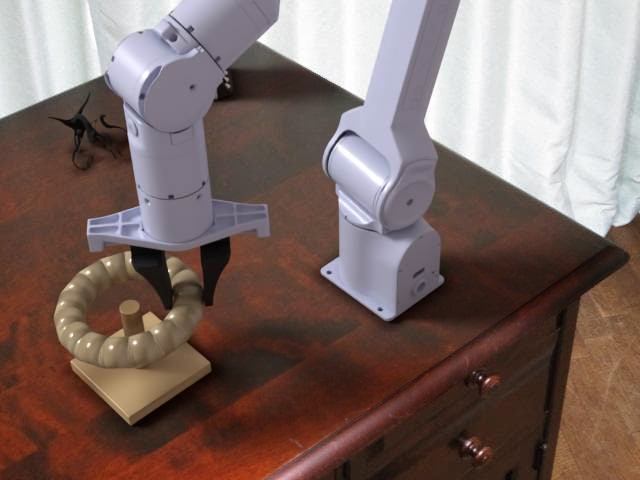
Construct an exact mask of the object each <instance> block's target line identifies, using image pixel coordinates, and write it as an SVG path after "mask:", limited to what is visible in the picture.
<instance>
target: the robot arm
mask: <svg viewBox="0 0 640 480" xmlns="http://www.w3.org/2000/svg"><path fill="white" fill-rule="evenodd" d="M460 3H461V0H391V3H390V7H389V9H388V14H387V18H386V20H385V21H386V22H385V25H384V29H383V33H382V36H381V39H380V43H379V47H378V51H377V55H376V58H375V62H374V66H373V69H372V73H371V77H370V80H369V84H368V88H367V92H366V95H365V99H364V102H363V105H360V106H359V105H358V106H357V107H354V108H351V109H348V110H346V111H344V112H343V113H341V116H340V121H339V124H338V127H337V129H336V131H335V132H334V135H333V136H332V138H331V139H330V140H329V141H328V144H327V145H326V147H325V148H324V149H325V150H324V152H323V155H322V162H321V164H322V170H323V173H324V175H325V176H326V177H327V178H328V179H329V180H331V181H332V182H333V183H335V194H336V196H337V197H338V244H339V245H338V246H339V247H338V249H339V250H338V251H339V252H338V253H339V256H338V257H336V258H335V259H333V260H332V261H330V262H329V263H327V264H326V265H324V266H322V267H321V269H320V274H321V275H322V276H323V277H324V278H326V279H327V280H329V281H330V282H331V283H333V284H334V285H335V286H336V287H337V288H339V289H341V290H342V291H344V293H346V294H348V295H349V296H350V297H352V298H353V299H354V300H356V301H358V302H359V303H360V304H361V305H363V306H364V307H365V308H367V309H368V310H370V311H371V312H372V313H374V314H375V315H376V316H378V317H379V318H381V319H382V320H383V321H386V322H390V321H393V320H394V319H395V318H398V316H400V315H401V314H402V313H404V312H406V311H407V310H408V309H409V308H411V307H412V306H414V305H415V304H416V303H418V302H419V301H421V300H423V298H425V297H426V296H428V295H429V294H430V293H432V292H433V291H434V290H436V289H437V288H438V287H440V286H442V285H443V284H444V282H445V277H444V276H443V275H441V274H440V268H441V253H442V237H441V235H440V234H439V232H438V231H437V230H436V229H435V228H433V226H431V225H430V224H429V222H427V220H426V219H425V218H424V217H423V216H424V215H425V214H426V212H427V211H428V209H429V208H430V207H431V204H432V201H433V199H434V196H435V191H436V179H435V170H436V166H437V163H438V160H439V156H438V155H439V154H438V153H437V150H436V147H435V145H434V142H433V140H432V138H431V135H430V133H429V131H428V129H427V126H426V123H425V119H426V115H427V111H428V109H429V105H430V103H431V98H432V95H433V93H434V89H435V86H436V82H437V79H438V76H439V72H440V69H441V66H442V62H443V59H444V55H445V53H446V50H447V46H448V43H449V40H450V36H451V33H452V30H453V26H454V23H455V19H456V17H457V14H458V10H459V6H460ZM280 5H281V0H181V1H180V3H178V4H177V5H176V6H175V7H174V8H173V9H172V10H171V11H170V12H169V13H168V14H167V15H165V17H163V18H162V19H161V20H159V22H158V23H156V25H154V27H153V28H146V29H142V30H138V31H135V32H132V33H129V34H128V35H126V36H125V37H124V38H123V39H122V40H120V41H119V42H118V44H117V45H116V46H115V48H114V50H113V51H112V54H111V57H110V61H109V65H108V69H107V70H105V71H104V72H103V78H104V81H105V83H106V85H107V87H108V88H109V89H110V90H111V91H112V92H113V93H114V94H115V95H116V96H118V97H120V99H122V101H123V111H124V117H125V123H126V131H127V132H128V133H127V140H128V139H129V141H128V144H129V150H130V157H131V163H132V169H133V176H134V182H135V187H136V193H137V198H138V204H139V205H138V206H135V207H132V208H131V207H130V208H129V209H125V210H122V211H119V212H116V213H112V214H108V215H105V216H101V217H95V218H88V219H87V226H86V238H87V243H88V247H89V252H90V253H99V252H103V251H104V250H105V247H107V246H119V245H128V246H129V248H130V251H131V263H132V266H133V268H134V270H135V271H136V272H137V273H139V274H140V275H142V276H143V277H144V278H145V279H146V280H145V281H147V282H148V283H149V285H150V286H151V287H152V288H153V290H154V291H155V293H156V294H157V296H158V297H159V299H160V301H161V304H162V305H163V308H164V310H165V311H171V310H172V308H173V302H174V297H173V293H172V283H171V279H170V275H169V271H168V267H167V262H166V256H165V254H166V251H167V252H184V251H188V250H192V249H196V248H198V247H199V250H200V251H199V254H200V255H199V257H200V258H199V259H200V266H201V271H202V282H203V283H202V284H203V286H202V288H203V290H204V307H207V308H208V307H213V306H214V297H215V296H214V295H215V292H216V288H217V284H218V281H219V279H220V277H221V275H222V273H223V272H224V270H225V269H226V267H227V266H228V265H229V263H230V260H231V255H232V247H231V236H234V235H243V234H245V235H246V234H255V235H256V237H257V238H259V239H260V238H269V237H271V231H270V230H271V229H270V216H269V209H268V204H267V203H258V204H257V203H255V204H254V203H242V202H236V201H228V200H223V199H217V198H213V197H212V189H211V181H210V180H211V179H210V171H209V170H210V169H209V162H208V153H207V152H208V151H207V143H206V134H205V127H204V117H205V116H206V115H207V113H208V111H209V110H210V108H211V107H212V104H213V102H214V100H215V99H214V96H215V92H216V89H217V87H218V86H219V85H220V84H221V83H222V82H223V80H222V79H223V77H224V76H225V74H224V73H223V72H224V71H225V70H226V69H227V68H228V67H229V68H230V66H232V65H233V64H234V63H235V62H236V61H237V60H238V59H239V58H240V57H241V56H242V55H243V54H244V53H245V52H246V51H248V49H249V48H251V47H252V46H253V45H254V44H255V43H256V42H257V41H258V40H259V39H260V38H261V37H262V36H263V35H264V34H265V33H266V32H267V31H268V30H270V28H272V27H273V25H275V24H276V23H277V22H278V21H279V18H280V7H281V6H280Z"/></svg>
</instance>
